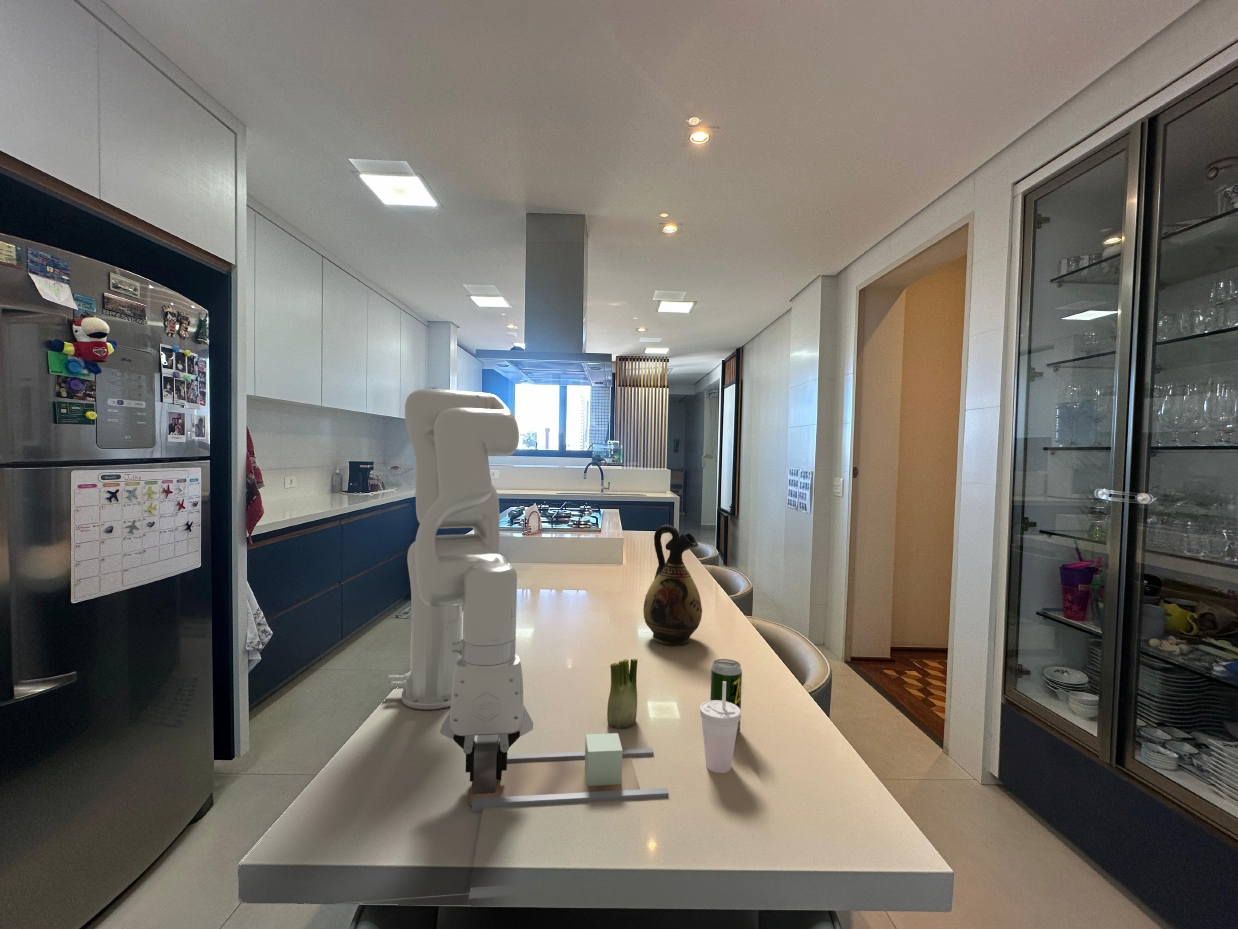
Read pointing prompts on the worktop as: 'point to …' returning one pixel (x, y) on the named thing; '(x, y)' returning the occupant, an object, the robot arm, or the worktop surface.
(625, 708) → the fennel bulb
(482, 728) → the robot arm
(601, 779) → the block
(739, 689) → the beer can
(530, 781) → the strip
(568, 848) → the worktop surface
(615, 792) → the lane rails
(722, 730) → the smoothie
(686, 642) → the ceramic jug
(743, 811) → the worktop surface
